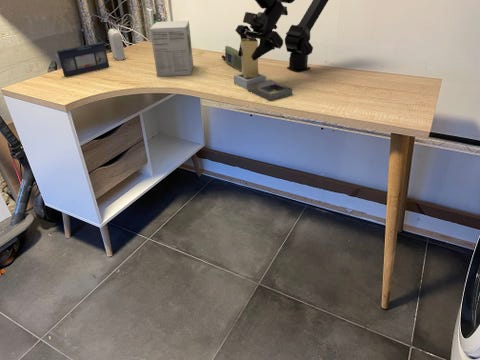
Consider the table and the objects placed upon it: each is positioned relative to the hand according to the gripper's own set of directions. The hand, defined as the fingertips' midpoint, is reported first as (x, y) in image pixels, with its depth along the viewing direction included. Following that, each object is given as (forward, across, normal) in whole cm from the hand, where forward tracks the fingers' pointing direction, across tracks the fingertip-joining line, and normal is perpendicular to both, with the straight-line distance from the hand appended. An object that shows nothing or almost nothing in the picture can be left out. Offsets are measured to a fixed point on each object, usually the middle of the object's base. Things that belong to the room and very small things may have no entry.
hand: (246, 57), depth 127 cm
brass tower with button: (+4, 0, +6) cm, 7 cm away
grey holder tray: (+6, +12, +7) cm, 15 cm away
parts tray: (+6, 0, +8) cm, 10 cm away
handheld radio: (-1, -21, +16) cm, 26 cm away
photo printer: (+18, -71, -4) cm, 73 cm away
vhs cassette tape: (+31, -60, -17) cm, 70 cm away
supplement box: (+13, -34, +1) cm, 36 cm away
